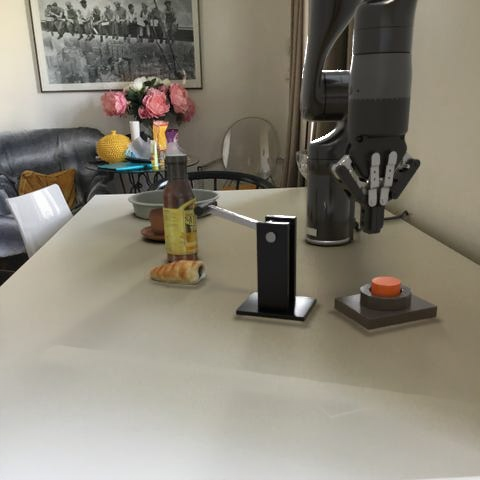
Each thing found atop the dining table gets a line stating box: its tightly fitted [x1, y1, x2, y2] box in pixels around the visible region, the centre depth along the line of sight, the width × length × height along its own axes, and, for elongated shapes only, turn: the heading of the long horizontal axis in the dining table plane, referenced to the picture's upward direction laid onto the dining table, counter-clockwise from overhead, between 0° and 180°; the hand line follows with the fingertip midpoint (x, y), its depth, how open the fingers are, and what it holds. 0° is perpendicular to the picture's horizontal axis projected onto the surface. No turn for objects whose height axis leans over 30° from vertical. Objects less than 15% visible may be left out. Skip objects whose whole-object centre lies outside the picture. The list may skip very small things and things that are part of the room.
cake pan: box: [127, 188, 221, 220], centre depth 153 cm, size 25×25×4 cm
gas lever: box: [194, 199, 290, 230], centre depth 80 cm, size 13×6×2 cm, turn 70°
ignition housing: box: [333, 282, 438, 331], centre depth 80 cm, size 11×9×4 cm
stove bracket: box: [235, 214, 318, 323], centre depth 81 cm, size 10×8×14 cm
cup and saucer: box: [140, 208, 165, 242], centre depth 126 cm, size 12×12×6 cm
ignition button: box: [370, 276, 402, 296], centre depth 79 cm, size 4×4×2 cm
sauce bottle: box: [162, 153, 199, 263], centre depth 107 cm, size 6×6×20 cm
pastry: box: [149, 260, 207, 286], centre depth 97 cm, size 9×7×4 cm
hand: (371, 232), depth 77 cm, fingers closed
